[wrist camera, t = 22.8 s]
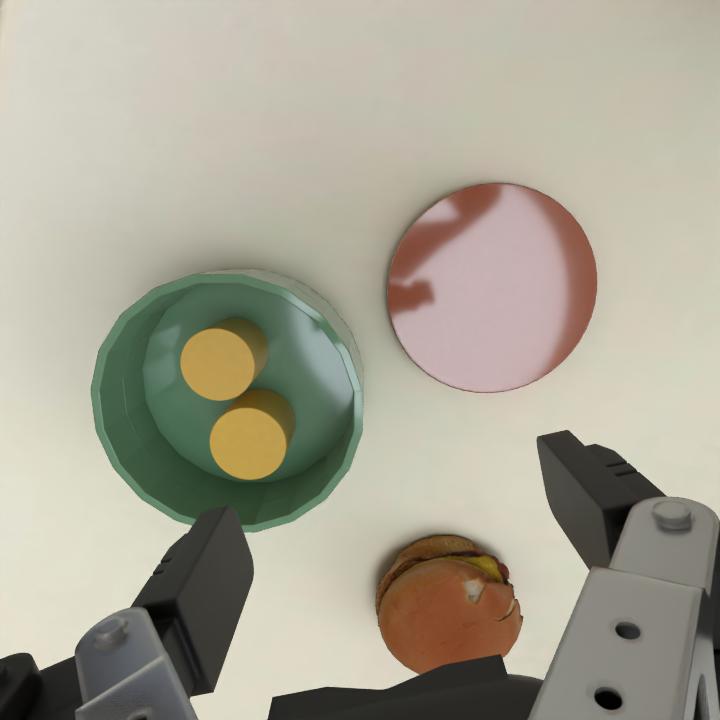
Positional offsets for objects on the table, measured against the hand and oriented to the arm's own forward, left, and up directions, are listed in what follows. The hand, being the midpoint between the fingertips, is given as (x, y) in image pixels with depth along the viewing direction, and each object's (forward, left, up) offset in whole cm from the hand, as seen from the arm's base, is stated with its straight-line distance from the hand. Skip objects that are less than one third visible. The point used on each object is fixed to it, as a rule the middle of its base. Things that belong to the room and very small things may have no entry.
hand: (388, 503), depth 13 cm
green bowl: (+7, -5, -20) cm, 22 cm away
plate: (-7, +4, -20) cm, 22 cm away
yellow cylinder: (+5, -7, -20) cm, 22 cm away
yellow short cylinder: (+8, -3, -20) cm, 22 cm away
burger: (+12, +15, -21) cm, 28 cm away
